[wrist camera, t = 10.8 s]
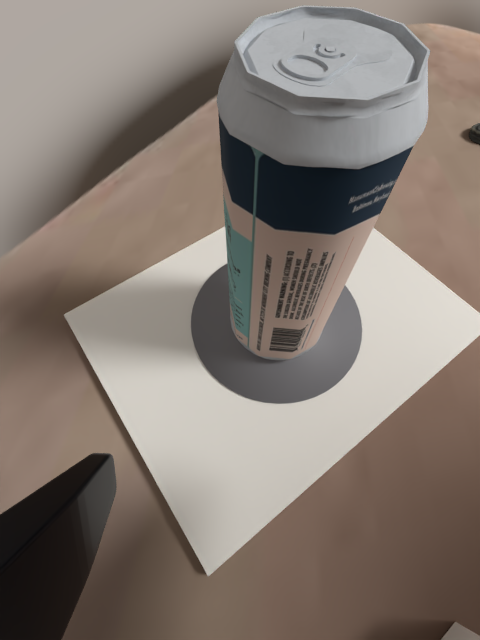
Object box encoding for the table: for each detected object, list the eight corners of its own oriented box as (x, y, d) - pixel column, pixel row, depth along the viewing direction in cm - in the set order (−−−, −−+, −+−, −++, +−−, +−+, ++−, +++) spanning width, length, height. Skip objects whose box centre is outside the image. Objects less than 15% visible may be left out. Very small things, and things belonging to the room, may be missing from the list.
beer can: (339, 318, 17) (493, 41, 7) (283, 384, 16) (370, 152, 5) (269, 269, 19) (306, -20, 8) (211, 324, 17) (164, 50, 7)
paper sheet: (209, 574, 13) (207, 577, 12) (66, 318, 18) (62, 313, 18) (487, 327, 18) (493, 322, 17) (311, 183, 23) (312, 177, 22)
